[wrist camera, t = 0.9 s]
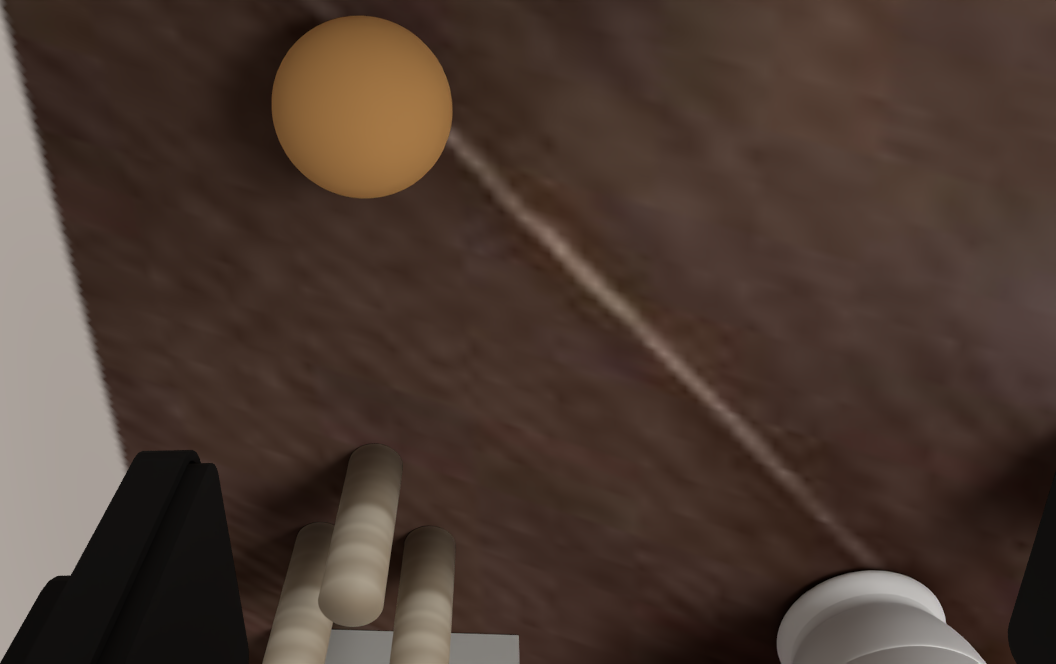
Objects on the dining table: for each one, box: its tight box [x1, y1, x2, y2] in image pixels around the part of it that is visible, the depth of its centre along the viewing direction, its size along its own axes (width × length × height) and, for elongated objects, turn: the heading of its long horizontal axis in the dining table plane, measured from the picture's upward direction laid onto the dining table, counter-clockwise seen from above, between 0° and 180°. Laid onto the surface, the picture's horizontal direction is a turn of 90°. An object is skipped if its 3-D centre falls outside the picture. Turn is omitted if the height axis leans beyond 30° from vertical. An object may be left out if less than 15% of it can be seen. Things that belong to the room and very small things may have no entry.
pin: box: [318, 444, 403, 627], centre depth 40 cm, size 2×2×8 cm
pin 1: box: [262, 522, 335, 664], centre depth 42 cm, size 2×2×8 cm
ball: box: [272, 16, 452, 198], centre depth 33 cm, size 6×6×6 cm
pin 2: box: [389, 526, 456, 664], centre depth 43 cm, size 2×2×8 cm
